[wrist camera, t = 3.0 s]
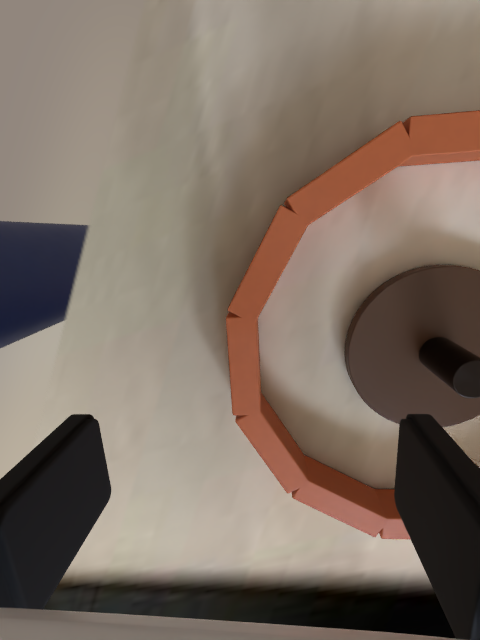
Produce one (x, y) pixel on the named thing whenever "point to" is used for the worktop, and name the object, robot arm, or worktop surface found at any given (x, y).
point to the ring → (260, 279)
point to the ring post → (419, 345)
